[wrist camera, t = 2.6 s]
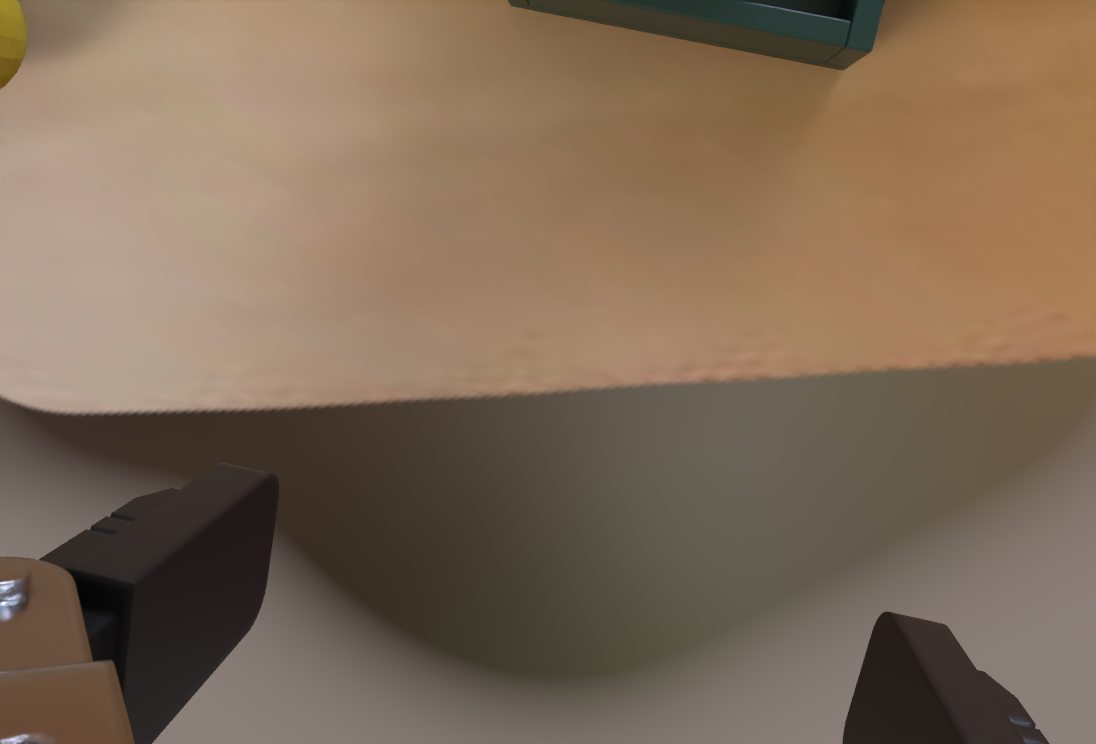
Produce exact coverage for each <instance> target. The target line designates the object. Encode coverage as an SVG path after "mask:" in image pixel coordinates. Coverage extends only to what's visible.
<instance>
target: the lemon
mask: <svg viewBox="0 0 1096 744" xmlns="http://www.w3.org/2000/svg"><path fill="white" fill-rule="evenodd" d="M26 44H27V35H26V23H25V20H24V16H23V12H22V9H21V7H20V5H19V3H18V1H17V0H0V89H1V88H2V87H4V86H5V85H6V84H7V83H8V82H9V81H10V80H11V78H12V77H13V76H14V75H15V74H16V73H17V71H18V69H19V67H20V65H21V63H22V61H23V58H24V54H25V49H26Z"/></svg>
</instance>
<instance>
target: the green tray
mask: <svg viewBox="0 0 1096 744" xmlns="http://www.w3.org/2000/svg"><path fill="white" fill-rule="evenodd" d="M884 1H885V0H508V2H509V3H510V5H511V6H514V7H519V8H524V9H529V10H534V11H539V12H545V13H550V14H555V15H560V16H565V17H570V18H575V19H581V20H586V21H591V22H596V23H601V24H606V25H611V26H617V27H622V28H627V29H632V30H637V31H642V32H647V33H653V34H658V35H663V36H668V37H673V38H678V39H683V40H689V41H694V42H699V43H704V44H709V45H714V46H719V47H725V48H730V49H735V50H740V51H745V52H750V53H755V54H761V55H766V56H771V57H776V58H781V59H786V60H791V61H797V62H802V63H807V64H812V65H817V66H822V67H827V68H833V69H838V70H845V69H846V68H848V67H849V66H850V65H852V64H853V63H855V62H856V61H858V60H859V59H861V58H862V57H864V56H865V55H867V54H868V53H870V52H871V51H872V48H873V44H874V40H875V36H876V32H877V28H878V24H879V21H880V17H881V13H882V9H883V5H884Z"/></svg>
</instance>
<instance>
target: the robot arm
mask: <svg viewBox="0 0 1096 744" xmlns="http://www.w3.org/2000/svg"><path fill="white" fill-rule="evenodd" d="M278 497H279V482H278V478H277V477H276V475H274V474H271V473H266V472H262V471H257V470H253V469H248V468H243V467H239V466H235V465H230V464H226V463H219V464H217V465H215V466H214V467H212V468H211V469H209V470H208V471H206V472H205V473H203V474H202V475H200V476H199V477H197V478H196V479H194V480H193V481H192V482H190V483H189V484H187V485H186V486H184V487H183V488H182V489H180V490H178V489H173V488H170V489H167V490H163V491H159V492H155V493H152V494H149V495H145V496H141V497H137V498H135V499H133V500H132V501H130V502H128V503H127V504H125V505H124V506H122V507H121V508H119V509H117V510H116V511H114V512H113V513H112V514H111V516H110V517H105V518H103V519H102V520H100V521H99V522H97V523H96V524H94V525H92V526H91V529H90V530H85V531H83V532H81V533H80V534H78V535H77V536H75V537H74V538H72V539H70V540H69V541H68V542H66V543H64V544H63V545H61V546H59V547H58V548H56V549H55V550H53V551H52V552H50V553H48V554H47V555H45V556H44V557H42V558H40V559H39V560H36V559H30V558H23V557H0V744H152V743H153V741H154V740H155V739H156V738H157V737H158V736H159V735H160V733H161V732H162V731H163V730H164V729H165V728H166V726H167V725H168V724H169V723H170V722H171V721H172V720H173V718H174V717H175V716H176V715H177V714H178V713H179V711H180V710H181V709H182V708H183V707H184V706H185V704H186V703H187V702H188V701H189V700H190V699H191V698H192V696H193V695H194V694H195V693H196V692H197V691H198V689H199V688H200V687H201V686H202V685H203V683H204V682H205V681H206V680H207V679H208V678H209V677H210V675H211V674H212V673H213V672H214V671H215V670H216V669H217V667H218V666H219V665H220V664H221V663H222V662H223V661H224V659H225V658H226V657H227V656H228V655H229V654H230V652H231V651H232V650H233V649H234V648H235V647H236V646H237V644H238V643H239V642H240V641H241V640H242V639H243V637H244V636H245V635H246V634H247V633H248V631H249V630H250V629H251V627H252V625H253V624H254V622H255V620H256V618H257V615H258V613H259V610H260V608H261V605H262V602H263V598H264V595H265V589H266V585H267V578H268V571H269V564H270V557H271V549H272V542H273V535H274V528H275V520H276V513H277V506H278ZM1035 725H1036V724H1035V723H1034V721H1033V720H1032V719H1031V717H1030V716H1029V714H1028V713H1027V712H1026V710H1025V709H1024V707H1023V706H1022V705H1021V703H1020V702H1019V700H1018V699H1017V698H1016V697H1015V696H1014V695H1012V694H1011V693H1010V692H1009V691H1007V690H1006V689H1005V688H1004V687H1002V686H1001V685H1000V684H999V683H997V682H996V681H995V680H994V679H992V678H991V677H990V676H989V675H988V674H986V673H985V672H983V671H979V670H977V669H976V668H975V666H974V665H973V664H972V662H971V661H970V659H969V658H968V656H967V655H966V653H965V652H964V650H963V649H962V647H961V646H960V644H959V643H958V641H957V640H956V638H955V637H954V635H953V634H952V632H951V631H950V629H949V628H948V627H947V626H946V625H944V624H941V623H937V622H932V621H928V620H923V619H919V618H914V617H910V616H905V615H901V614H896V613H892V612H883V613H882V614H881V615H880V616H879V618H878V620H877V622H876V623H875V626H874V628H873V631H872V634H871V638H870V641H869V644H868V648H867V651H866V654H865V658H864V661H863V665H862V668H861V672H860V675H859V678H858V681H857V685H856V688H855V691H854V695H853V698H852V702H851V705H850V709H849V712H848V715H847V719H846V722H845V728H844V734H843V744H1049V743H1048V741H1047V740H1046V739H1045V737H1044V735H1043V734H1042V733H1041V731H1040V730H1038V729H1035Z"/></svg>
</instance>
